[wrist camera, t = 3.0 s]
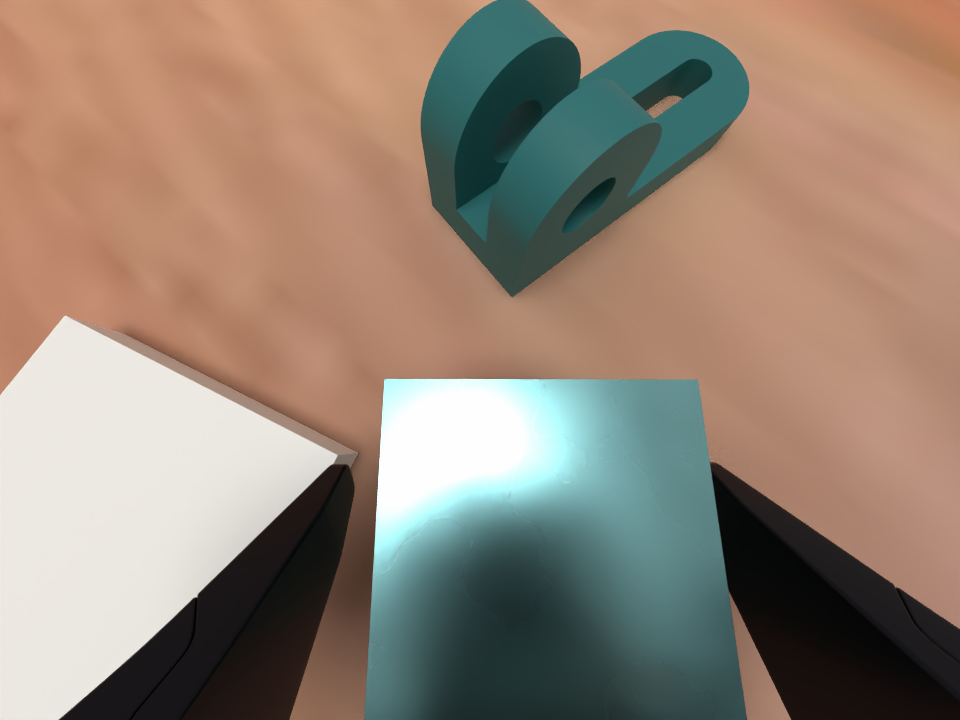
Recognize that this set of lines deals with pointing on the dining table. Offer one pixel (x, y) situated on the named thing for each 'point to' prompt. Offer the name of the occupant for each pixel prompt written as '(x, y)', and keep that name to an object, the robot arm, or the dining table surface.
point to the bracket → (562, 132)
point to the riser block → (124, 504)
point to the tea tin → (548, 555)
